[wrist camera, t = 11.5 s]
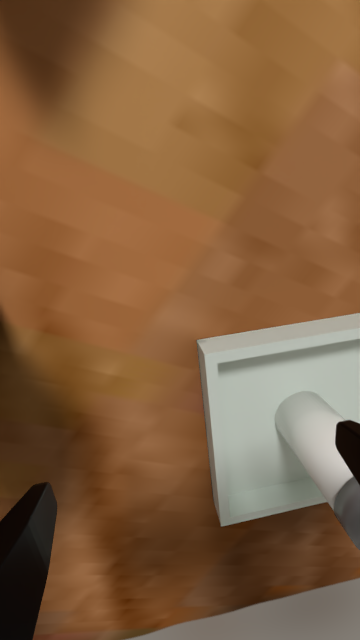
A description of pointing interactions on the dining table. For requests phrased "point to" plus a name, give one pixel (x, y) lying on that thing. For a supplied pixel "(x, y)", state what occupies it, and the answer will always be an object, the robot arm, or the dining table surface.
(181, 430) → the dining table surface
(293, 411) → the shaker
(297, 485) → the tray
